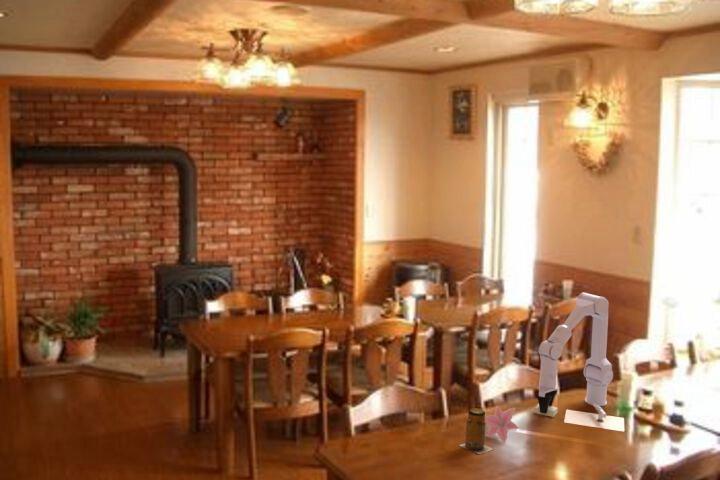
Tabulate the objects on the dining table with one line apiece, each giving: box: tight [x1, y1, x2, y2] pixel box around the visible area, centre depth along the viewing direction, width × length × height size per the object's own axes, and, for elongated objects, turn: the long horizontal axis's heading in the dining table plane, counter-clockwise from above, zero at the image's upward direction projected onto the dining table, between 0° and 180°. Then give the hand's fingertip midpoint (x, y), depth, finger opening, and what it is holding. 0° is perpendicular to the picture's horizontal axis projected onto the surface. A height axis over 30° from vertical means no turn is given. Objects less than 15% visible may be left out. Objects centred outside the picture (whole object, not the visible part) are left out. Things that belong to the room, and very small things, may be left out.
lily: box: [485, 405, 519, 443], centre depth 245 cm, size 12×12×10 cm
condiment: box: [458, 408, 494, 455], centre depth 233 cm, size 7×8×12 cm
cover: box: [534, 403, 558, 418], centre depth 266 cm, size 5×7×2 cm
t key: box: [592, 402, 607, 421], centre depth 261 cm, size 2×12×4 cm, turn 178°
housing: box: [563, 409, 625, 433], centre depth 260 cm, size 14×20×1 cm
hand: (545, 410), depth 266 cm, fingers open, 5 cm apart
